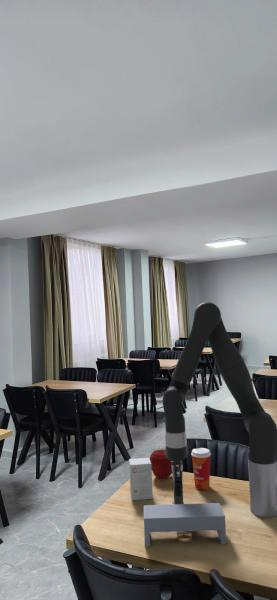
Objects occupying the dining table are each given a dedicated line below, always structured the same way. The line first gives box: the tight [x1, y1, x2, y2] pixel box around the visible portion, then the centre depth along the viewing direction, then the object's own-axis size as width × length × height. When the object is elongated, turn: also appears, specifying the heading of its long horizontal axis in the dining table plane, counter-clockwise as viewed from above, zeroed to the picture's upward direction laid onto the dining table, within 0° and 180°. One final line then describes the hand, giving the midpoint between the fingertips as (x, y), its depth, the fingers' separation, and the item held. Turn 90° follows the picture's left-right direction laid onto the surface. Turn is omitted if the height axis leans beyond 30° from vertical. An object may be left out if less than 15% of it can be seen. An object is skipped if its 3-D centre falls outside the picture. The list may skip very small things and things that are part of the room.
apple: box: [149, 448, 173, 480], centre depth 162 cm, size 11×11×12 cm
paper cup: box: [190, 447, 212, 491], centre depth 152 cm, size 8×8×14 cm
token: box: [176, 531, 193, 543], centre depth 117 cm, size 4×4×1 cm
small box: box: [128, 457, 154, 501], centre depth 146 cm, size 8×6×13 cm
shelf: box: [143, 502, 227, 547], centre depth 117 cm, size 24×8×8 cm, turn 90°
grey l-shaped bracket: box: [172, 474, 191, 534], centre depth 128 cm, size 4×18×11 cm, turn 179°
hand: (177, 493), depth 136 cm, fingers closed on grey l-shaped bracket, 3 cm apart
